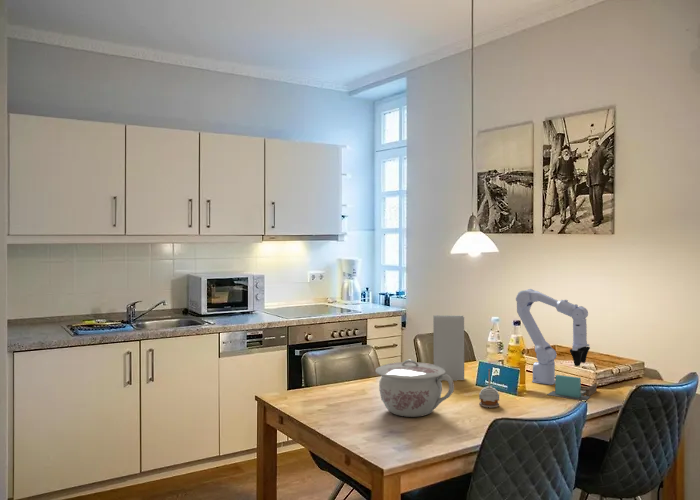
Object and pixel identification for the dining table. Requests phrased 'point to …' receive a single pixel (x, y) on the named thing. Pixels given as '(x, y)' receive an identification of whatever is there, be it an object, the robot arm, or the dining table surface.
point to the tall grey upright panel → (449, 345)
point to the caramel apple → (489, 396)
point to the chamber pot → (412, 387)
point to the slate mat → (569, 396)
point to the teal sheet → (568, 386)
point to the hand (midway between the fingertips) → (579, 364)
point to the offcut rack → (589, 389)
